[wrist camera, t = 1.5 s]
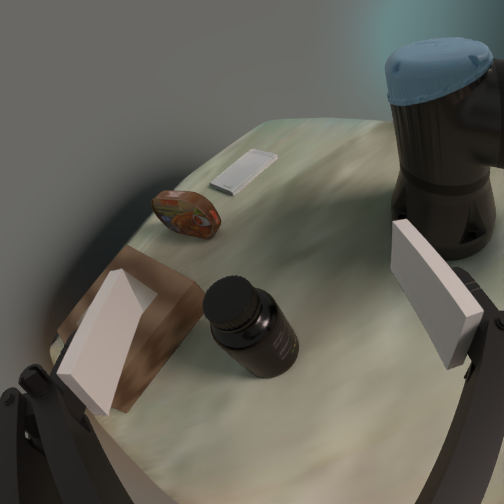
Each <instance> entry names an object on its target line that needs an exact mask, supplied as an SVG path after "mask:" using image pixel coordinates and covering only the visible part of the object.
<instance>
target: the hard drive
mask: <svg viewBox="0 0 504 504" xmlns="http://www.w3.org/2000/svg"><path fill="white" fill-rule="evenodd" d="M277 158H278V156H277V154H274V153H270V152H266V151H261V150H257V149H251V150H249V151H248V152H247V153H246V154H244V155H243V156H242V157H241V158H239V159H238V160H237V161H236V162H234V163H233V164H232V165H231V166H229V167H228V168H227V169H226V170H225V171H223V172H222V173H221V174H220V175H218V176H217V177H216V178H215V179H214V180H212V181H211V182H210V183H209V184H210V186H211V187H213V188H216V189H218V190H220V191H223V192H225V193H228V194H230V195H232V196H235V195H236V194H237V193H238V192H239V191H240V190H242V189H243V188H244V187H245V186H246V185H247V184H248V183H250V182H251V181H252V180H253V179H254V178H255V177H256V176H258V175H259V174H260V173H261V172H262V171H263V170H265V169H266V168H267V167H268V166H269V165H270V164H272V163H273V162H274V161H275V160H276V159H277Z"/></svg>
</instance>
